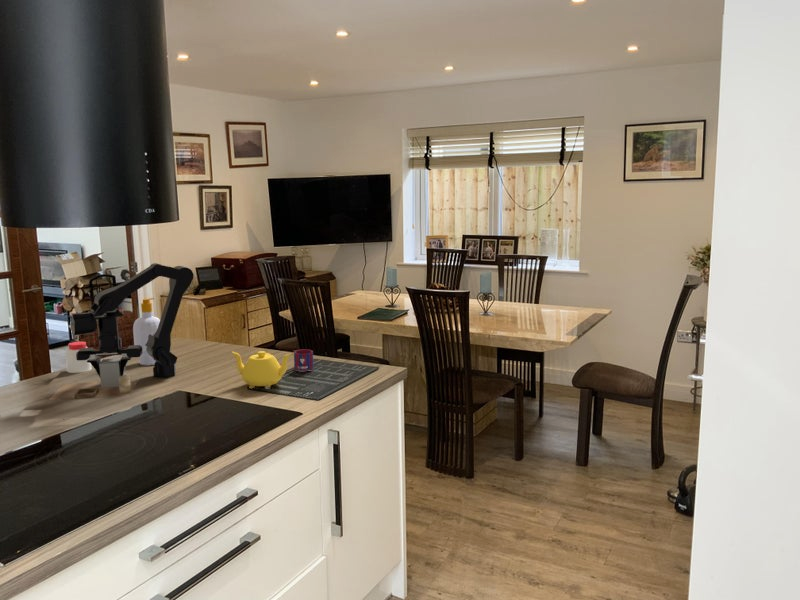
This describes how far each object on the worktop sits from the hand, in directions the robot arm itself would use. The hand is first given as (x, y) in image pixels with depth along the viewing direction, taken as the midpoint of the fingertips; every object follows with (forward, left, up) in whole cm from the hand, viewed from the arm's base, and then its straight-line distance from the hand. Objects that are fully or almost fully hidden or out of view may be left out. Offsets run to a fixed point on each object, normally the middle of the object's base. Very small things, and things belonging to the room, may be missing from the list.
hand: (111, 378), depth 206 cm
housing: (0, 0, -2) cm, 2 cm away
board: (+4, +4, -4) cm, 7 cm away
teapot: (-47, +6, -4) cm, 48 cm away
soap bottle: (-7, -30, -4) cm, 31 cm away
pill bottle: (+15, -21, -4) cm, 26 cm away
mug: (-62, -10, -4) cm, 63 cm away
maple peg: (-5, +10, -2) cm, 11 cm away
